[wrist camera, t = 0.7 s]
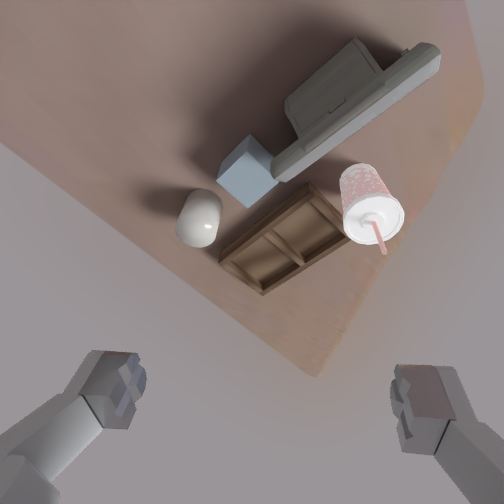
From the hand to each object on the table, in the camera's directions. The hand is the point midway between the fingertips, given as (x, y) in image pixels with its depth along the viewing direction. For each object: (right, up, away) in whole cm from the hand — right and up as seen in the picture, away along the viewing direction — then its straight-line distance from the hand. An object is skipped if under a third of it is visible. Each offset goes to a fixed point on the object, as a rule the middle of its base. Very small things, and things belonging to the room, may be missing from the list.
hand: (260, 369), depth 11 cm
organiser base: (+4, +6, +38) cm, 39 cm away
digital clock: (+9, +20, +26) cm, 34 cm away
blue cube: (0, +15, +31) cm, 34 cm away
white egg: (-7, +10, +35) cm, 37 cm away
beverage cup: (+13, +13, +31) cm, 36 cm away
